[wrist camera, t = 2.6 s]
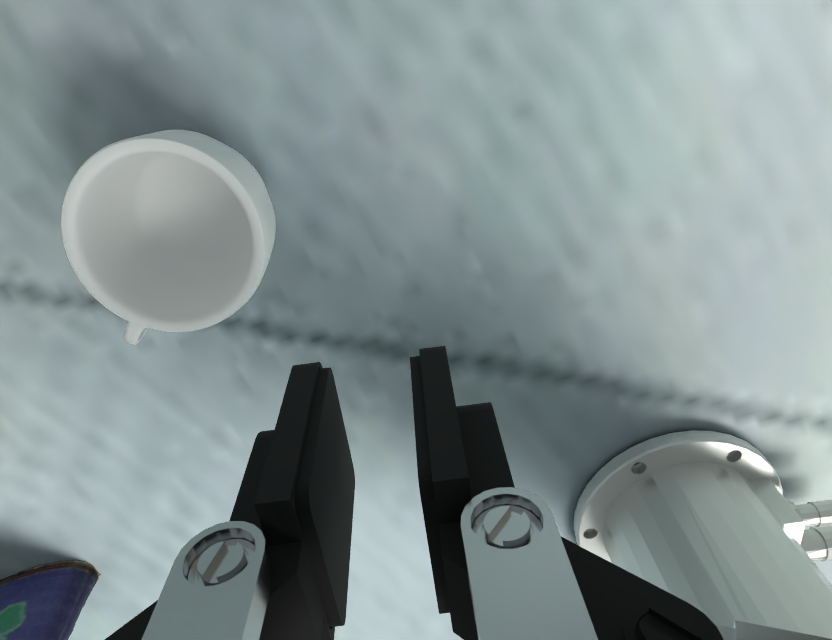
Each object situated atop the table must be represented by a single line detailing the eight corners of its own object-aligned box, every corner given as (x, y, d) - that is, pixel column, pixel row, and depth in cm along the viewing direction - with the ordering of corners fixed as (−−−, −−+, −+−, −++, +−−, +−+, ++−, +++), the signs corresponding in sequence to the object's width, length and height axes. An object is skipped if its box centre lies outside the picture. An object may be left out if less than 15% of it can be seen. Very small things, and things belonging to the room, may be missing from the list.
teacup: (149, 81, 25) (93, 95, 20) (315, 170, 27) (299, 202, 22) (82, 273, 29) (20, 324, 24) (231, 340, 31) (202, 399, 26)
